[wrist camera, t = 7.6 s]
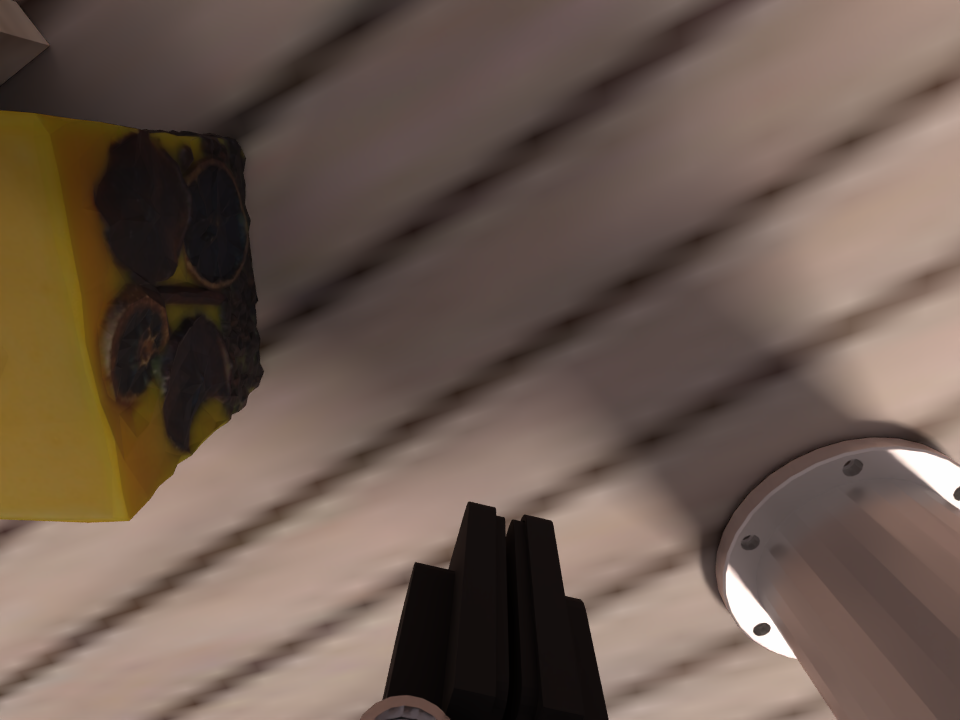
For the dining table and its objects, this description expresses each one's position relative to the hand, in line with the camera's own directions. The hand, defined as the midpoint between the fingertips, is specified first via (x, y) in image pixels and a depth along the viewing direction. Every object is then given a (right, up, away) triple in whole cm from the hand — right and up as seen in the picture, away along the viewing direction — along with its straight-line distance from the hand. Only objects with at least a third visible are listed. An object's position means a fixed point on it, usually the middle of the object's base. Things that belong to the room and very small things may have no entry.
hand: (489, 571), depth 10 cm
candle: (-14, +8, +11) cm, 20 cm away
